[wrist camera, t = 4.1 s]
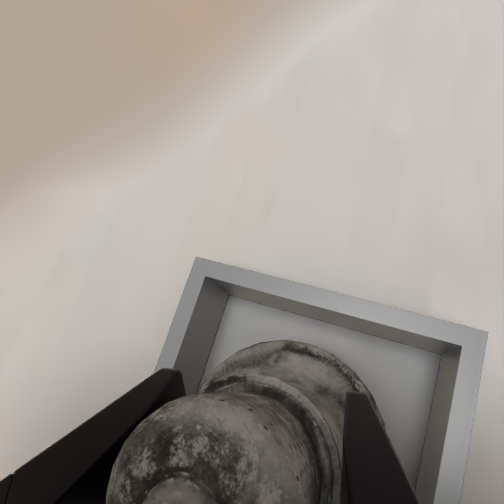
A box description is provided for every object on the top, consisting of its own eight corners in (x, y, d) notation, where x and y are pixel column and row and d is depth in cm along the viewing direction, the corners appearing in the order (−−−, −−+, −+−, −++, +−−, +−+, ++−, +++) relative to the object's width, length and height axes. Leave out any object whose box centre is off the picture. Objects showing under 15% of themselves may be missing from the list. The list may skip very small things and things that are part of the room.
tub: (406, 653, 12) (421, 729, 10) (138, 518, 15) (90, 547, 12) (462, 342, 15) (488, 331, 12) (220, 277, 18) (196, 256, 15)
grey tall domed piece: (326, 323, 16) (267, 170, 5) (416, 477, 14) (682, 845, 3) (196, 394, 16) (-139, 404, 5) (263, 557, 14) (-80, 1196, 3)
